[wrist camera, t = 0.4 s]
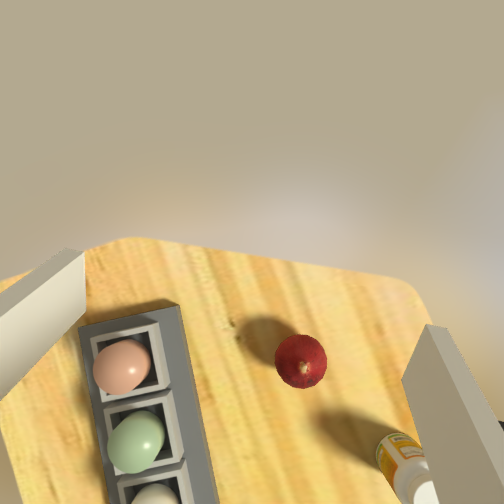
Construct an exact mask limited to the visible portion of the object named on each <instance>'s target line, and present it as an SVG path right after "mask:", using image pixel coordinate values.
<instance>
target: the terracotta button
mask: <svg viewBox="0 0 504 504" xmlns="http://www.w3.org/2000/svg"><path fill="white" fill-rule="evenodd" d="M150 368H151V357H150V354H149V351H148V350H147V348H146V347H145V346H144V345H143V344H142V343H140V342H138V341H136V340H131V339H126V340H122V341H119V342H117V343H115V344H112V345H110V346H108V347H106V348H104V349H103V350H102V351H101V352H100V353H99V354H98V355H97V357H96V359H95V361H94V364H93V376H94V379H95V381H96V383H97V385H98V386H99V387H100V388H101V389H102V390H103V391H105V392H106V393H109V394H112V395H122V394H126V393H128V392H130V391H131V390H133V389H134V388H135V387H136V386H137V385H139V384H140V383H141V382H142V381H143V380H144V379H145V378H146V377H147V375H148V374H149V371H150Z"/></svg>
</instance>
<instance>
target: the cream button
mask: <svg viewBox="0 0 504 504" xmlns="http://www.w3.org/2000/svg"><path fill="white" fill-rule="evenodd" d="M131 504H179V500H178V498H177V496H176V494H175V493H174V491H173V490H172V489H170V488H169V487H167V486H165V485H162V484H150V485H147V486H145V487H144V488H142V489H141V490H140V491H139V492H138V493H137V495H136V497H135V498H134V500H133V502H132V503H131Z"/></svg>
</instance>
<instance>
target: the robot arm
mask: <svg viewBox="0 0 504 504" xmlns="http://www.w3.org/2000/svg"><path fill="white" fill-rule="evenodd" d="M85 312H86V287H85V258H84V252H82V251H77V250H72V249H67V248H65V249H63V250H62V251H60V252H59V253H58V254H56V255H55V256H53V257H52V258H51V259H49V260H48V261H46V262H45V263H43V264H42V265H40V266H39V267H38V268H36V269H35V270H33V271H32V272H30V273H29V274H28V275H26V276H25V277H23V278H22V279H20V280H19V281H18V282H16V283H15V284H13V285H12V286H10V287H9V288H8V289H6V290H5V291H3V292H2V293H0V401H1V400H2V399H3V398H4V397H5V396H6V395H7V394H8V392H9V391H10V390H11V389H12V388H13V387H14V386H15V385H16V384H17V383H18V382H19V381H20V380H21V379H22V378H23V377H24V376H25V375H26V374H27V373H28V372H29V370H30V369H31V368H32V367H33V366H34V365H35V364H36V363H37V362H38V361H39V360H40V359H41V358H42V357H43V356H44V355H45V354H46V353H47V352H48V351H49V349H50V348H51V347H52V346H53V345H54V344H55V343H56V342H57V341H58V340H59V339H60V338H61V337H62V336H63V335H64V334H65V333H66V332H67V331H68V330H69V328H70V327H71V326H72V325H73V324H74V323H75V322H76V321H77V320H78V319H79V318H80V317H81V316H82V315H83V314H84V313H85ZM401 381H402V384H403V387H404V390H405V394H406V397H407V400H408V403H409V407H410V410H411V413H412V417H413V420H414V423H415V426H416V430H417V433H418V436H419V439H420V443H421V446H422V449H423V452H424V456H425V459H426V462H427V465H428V469H429V472H430V475H431V478H432V482H433V485H434V488H435V491H436V495H437V498H438V501H439V504H504V422H502V421H498V420H497V418H496V416H495V415H494V413H493V411H492V409H491V407H490V406H489V404H488V402H487V400H486V398H485V397H484V395H483V393H482V391H481V389H480V387H479V386H478V384H477V382H476V380H475V378H474V377H473V375H472V373H471V371H470V370H469V368H468V366H467V364H466V362H465V360H464V358H463V357H462V355H461V353H460V351H459V349H458V348H457V346H456V344H455V342H454V340H453V339H452V337H451V335H450V333H449V331H448V330H447V328H442V327H438V326H433V325H429V324H426V325H425V327H424V329H423V332H422V334H421V336H420V338H419V341H418V343H417V345H416V347H415V350H414V352H413V354H412V357H411V359H410V361H409V363H408V366H407V368H406V370H405V372H404V375H403V377H402V379H401Z"/></svg>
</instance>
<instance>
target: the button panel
mask: <svg viewBox="0 0 504 504" xmlns="http://www.w3.org/2000/svg"><path fill="white" fill-rule="evenodd" d="M78 332H79V337H80V343H81V348H82V354H83V359H84V365H85V370H86V376H87V381H88V386H89V392H90V397H91V403H92V408H93V414H94V419H95V425H96V430H97V436H98V441H99V446H100V452H101V457H102V463H103V468H104V474H105V479H106V485H107V490H108V496H109V501H110V504H131V503H132V502H133V500H134V498H135V497H136V495H137V493H138V492H139V491H140V490H141V489H142V488H144V487H145V486H147V485H150V484H162V485H165V486H167V487H169V488H170V489H172V490H173V491H174V493H175V494H176V496H177V498H178V500H179V504H220V502H219V497H218V492H217V487H216V482H215V477H214V472H213V468H212V463H211V458H210V453H209V448H208V443H207V438H206V433H205V428H204V423H203V419H202V414H201V409H200V404H199V399H198V394H197V389H196V384H195V379H194V374H193V369H192V365H191V360H190V355H189V350H188V345H187V340H186V335H185V330H184V325H183V320H182V316H181V311H180V306H179V305H177V306H172V307H168V308H163V309H159V310H154V311H150V312H145V313H141V314H136V315H132V316H127V317H122V318H118V319H113V320H109V321H104V322H100V323H95V324H91V325H86V326H82V327H79V328H78ZM126 339H131V340H136V341H138V342H140V343H142V344H143V345H144V346H145V347H146V348H147V350H148V351H149V354H150V357H151V368H150V371H149V374H148V375H147V377H146V378H145V379H144V380H143V381H142V382H141V383H140V384H139V385H137V386H136V387H135V388H134V389H133V390H131V391H130V392H128V393H126V394H122V395H112V394H109V393H106V392H105V391H103V390H102V389H101V388H100V387H99V386H98V385H97V383H96V381H95V379H94V376H93V364H94V361H95V359H96V357H97V355H98V354H99V353H100V352H101V351H102V350H103V349H104V348H106V347H108V346H110V345H112V344H115V343H117V342H119V341H122V340H126ZM143 410H144V411H149V412H152V413H153V414H155V415H156V416H158V417H159V418H160V420H161V421H162V423H163V425H164V428H165V441H164V444H163V446H162V448H161V449H160V451H159V453H158V454H157V456H156V458H155V460H154V461H153V463H152V464H151V465H150V466H149V467H148V468H147V469H145V470H144V471H142V472H139V473H133V474H130V473H125V472H122V471H120V470H119V469H117V468H116V467H115V466H114V465H113V464H112V462H111V461H110V459H109V456H108V452H107V444H108V439H109V437H110V435H111V433H112V432H113V430H114V429H115V428H116V427H117V426H118V425H119V424H120V423H121V422H122V421H123V420H124V419H125V418H126V417H127V416H128V415H129V414H131V413H133V412H136V411H143Z"/></svg>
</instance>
